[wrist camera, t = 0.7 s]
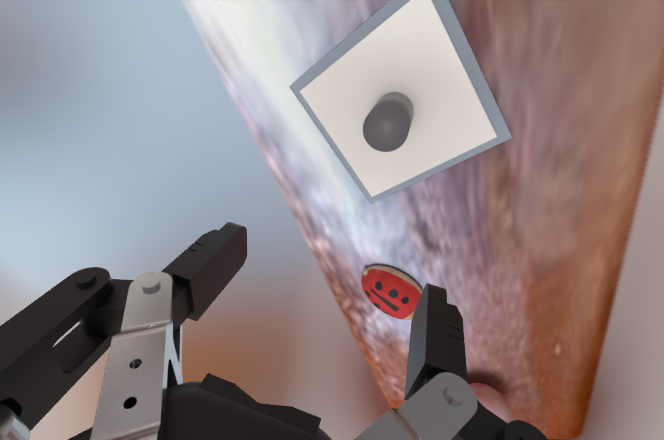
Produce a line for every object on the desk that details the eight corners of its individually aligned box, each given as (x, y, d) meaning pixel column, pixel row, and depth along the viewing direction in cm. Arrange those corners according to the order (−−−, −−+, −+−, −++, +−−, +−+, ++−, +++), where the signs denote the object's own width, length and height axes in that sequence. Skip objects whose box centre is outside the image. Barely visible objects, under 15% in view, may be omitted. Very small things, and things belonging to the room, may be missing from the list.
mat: (291, 85, 31) (289, 86, 30) (432, -35, 23) (432, -36, 22) (371, 201, 35) (370, 204, 35) (511, 135, 28) (512, 137, 27)
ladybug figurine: (405, 315, 45) (403, 335, 42) (350, 277, 44) (344, 295, 41) (438, 293, 41) (438, 314, 38) (378, 251, 40) (374, 269, 37)
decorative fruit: (479, 405, 51) (486, 478, 43) (438, 381, 51) (437, 450, 43) (525, 387, 45) (543, 467, 37) (479, 359, 45) (486, 434, 37)
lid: (302, 89, 30) (277, 104, 26) (425, -12, 23) (421, -17, 19) (373, 193, 34) (362, 222, 30) (495, 133, 27) (506, 159, 23)
